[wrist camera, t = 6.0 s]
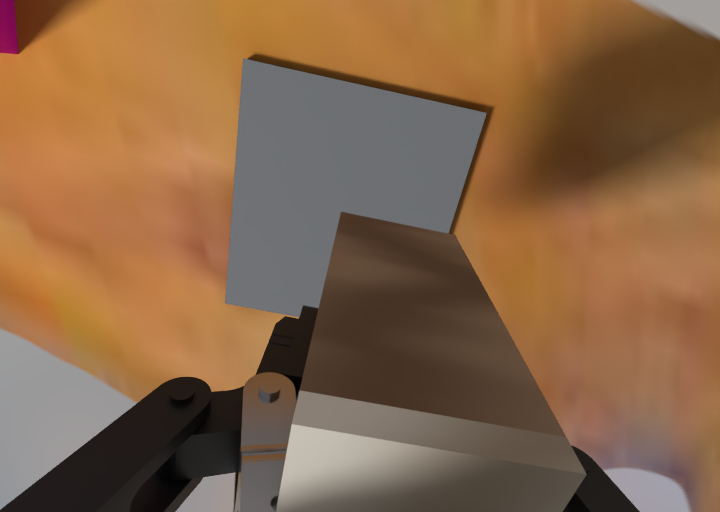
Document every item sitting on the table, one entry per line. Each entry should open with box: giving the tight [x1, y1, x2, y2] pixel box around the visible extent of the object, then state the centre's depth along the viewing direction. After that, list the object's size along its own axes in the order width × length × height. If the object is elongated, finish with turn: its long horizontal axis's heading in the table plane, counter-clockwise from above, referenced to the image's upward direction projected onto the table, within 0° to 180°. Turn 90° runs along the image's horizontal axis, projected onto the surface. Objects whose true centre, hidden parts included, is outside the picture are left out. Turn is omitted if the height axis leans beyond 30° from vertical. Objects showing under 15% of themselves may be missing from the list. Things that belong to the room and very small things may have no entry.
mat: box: [225, 58, 487, 317], centre depth 25 cm, size 14×16×1 cm
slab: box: [276, 212, 587, 512], centre depth 11 cm, size 4×8×9 cm, turn 169°
